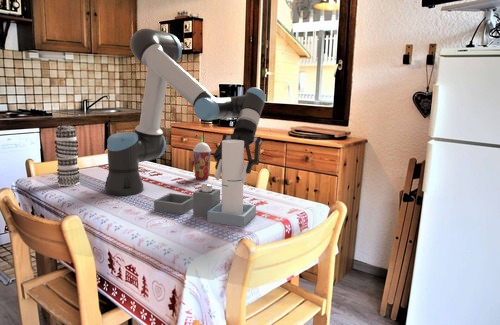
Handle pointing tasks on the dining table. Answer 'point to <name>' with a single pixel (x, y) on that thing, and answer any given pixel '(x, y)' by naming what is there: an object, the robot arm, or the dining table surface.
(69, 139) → the decorative candle
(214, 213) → the tray
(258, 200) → the dining table surface
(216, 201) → the housing block
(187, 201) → the dark grey square bin
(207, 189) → the plunger
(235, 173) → the white tall block
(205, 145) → the smoothie
